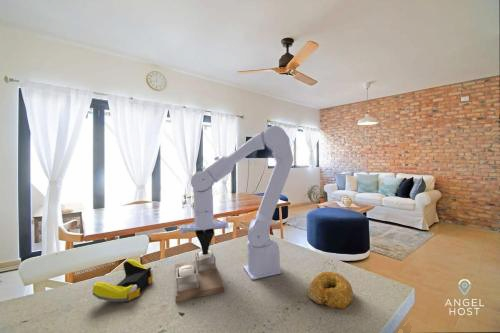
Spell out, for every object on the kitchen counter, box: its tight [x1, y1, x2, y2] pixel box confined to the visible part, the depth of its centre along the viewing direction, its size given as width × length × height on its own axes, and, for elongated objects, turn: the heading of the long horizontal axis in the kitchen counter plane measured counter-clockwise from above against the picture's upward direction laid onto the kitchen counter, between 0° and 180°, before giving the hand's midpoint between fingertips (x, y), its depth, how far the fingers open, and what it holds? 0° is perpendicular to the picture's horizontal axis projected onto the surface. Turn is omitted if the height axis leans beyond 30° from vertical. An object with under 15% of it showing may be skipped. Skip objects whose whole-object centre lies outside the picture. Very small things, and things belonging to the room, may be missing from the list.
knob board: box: [174, 249, 225, 303], centre depth 63 cm, size 12×17×5 cm
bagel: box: [307, 271, 354, 309], centre depth 55 cm, size 10×11×5 cm
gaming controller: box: [92, 258, 154, 303], centre depth 59 cm, size 15×6×10 cm
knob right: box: [198, 250, 212, 259], centre depth 68 cm, size 4×4×4 cm
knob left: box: [179, 265, 195, 277], centre depth 59 cm, size 4×4×4 cm
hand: (205, 253), depth 68 cm, fingers closed, pressing on knob right
